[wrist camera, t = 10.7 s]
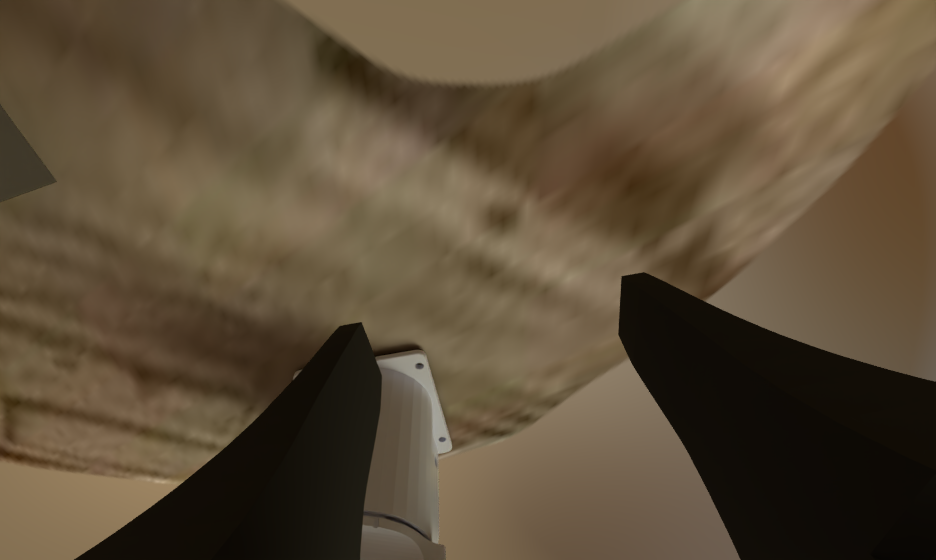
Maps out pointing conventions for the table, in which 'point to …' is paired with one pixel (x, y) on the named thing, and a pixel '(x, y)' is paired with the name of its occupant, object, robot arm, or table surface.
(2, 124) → the plug
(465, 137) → the table surface
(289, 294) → the table surface
